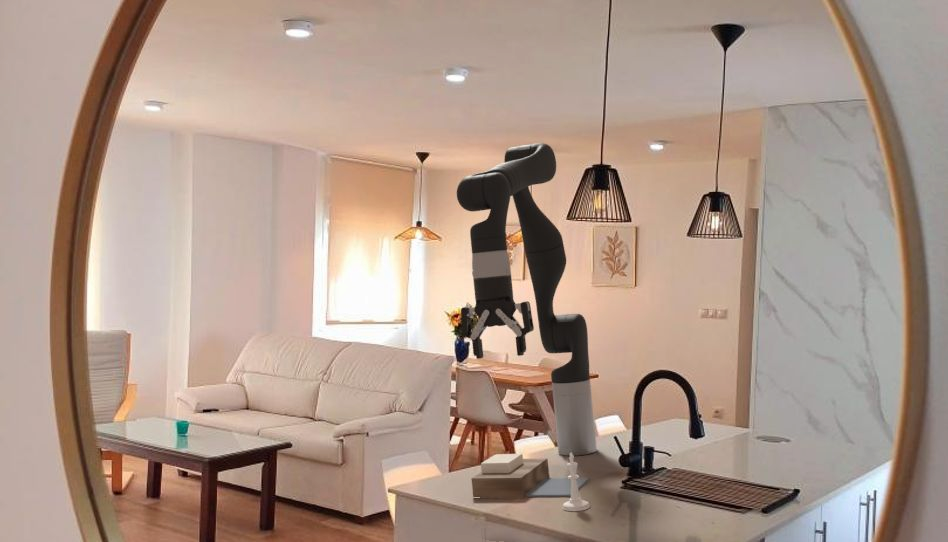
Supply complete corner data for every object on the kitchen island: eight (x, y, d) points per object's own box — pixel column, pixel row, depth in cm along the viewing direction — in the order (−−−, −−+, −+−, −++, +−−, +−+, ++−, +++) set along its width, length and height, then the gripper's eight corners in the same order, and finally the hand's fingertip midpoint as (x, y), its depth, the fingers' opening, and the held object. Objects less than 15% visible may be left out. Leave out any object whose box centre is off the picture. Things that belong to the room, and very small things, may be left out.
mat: (545, 480, 190) (545, 478, 190) (589, 479, 186) (589, 477, 186) (524, 496, 176) (524, 494, 176) (571, 496, 173) (571, 494, 173)
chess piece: (559, 511, 163) (554, 456, 163) (567, 504, 168) (562, 450, 168) (585, 511, 161) (580, 455, 161) (593, 504, 166) (587, 450, 166)
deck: (503, 477, 196) (501, 459, 196) (549, 477, 192) (547, 458, 192) (473, 498, 179) (471, 478, 179) (523, 498, 176) (521, 477, 176)
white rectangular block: (496, 463, 192) (495, 454, 192) (523, 463, 190) (522, 453, 190) (481, 473, 183) (480, 463, 183) (509, 472, 181) (508, 462, 181)
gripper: (531, 271, 179) (539, 352, 179) (465, 277, 184) (473, 357, 184) (520, 272, 172) (529, 356, 172) (451, 279, 177) (459, 361, 177)
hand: (500, 356), depth 178 cm, fingers open, 8 cm apart
